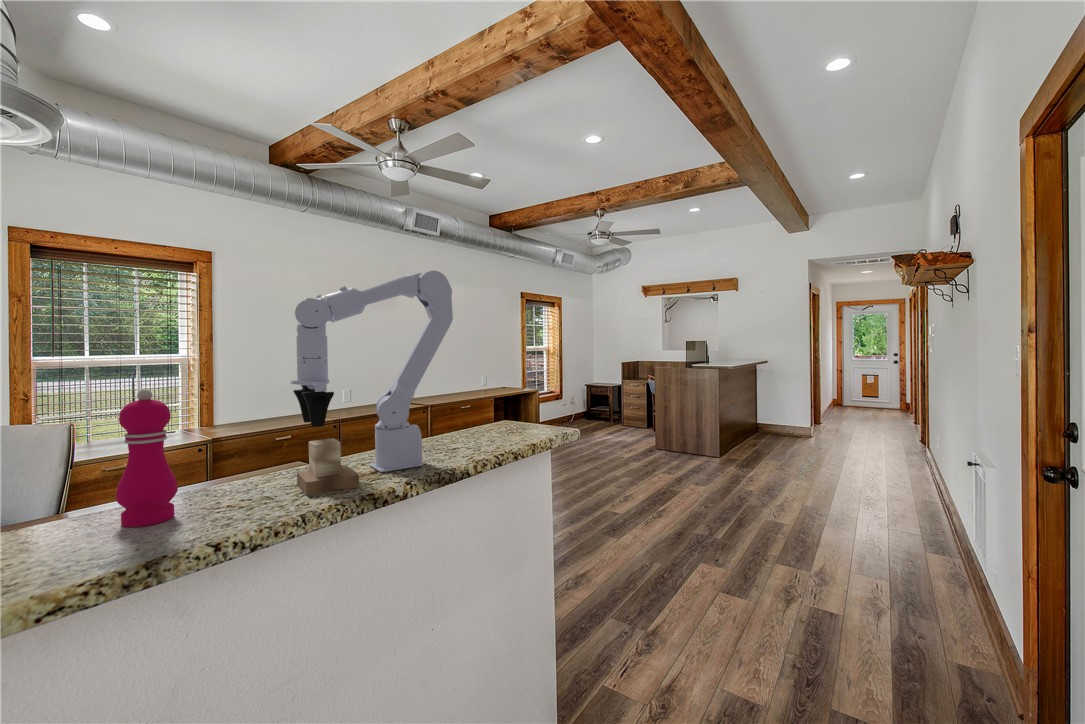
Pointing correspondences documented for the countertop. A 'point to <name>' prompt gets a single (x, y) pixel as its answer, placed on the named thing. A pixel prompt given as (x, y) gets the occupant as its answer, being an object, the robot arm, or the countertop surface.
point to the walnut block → (327, 481)
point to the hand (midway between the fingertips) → (313, 424)
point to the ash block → (324, 457)
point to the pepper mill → (146, 464)
